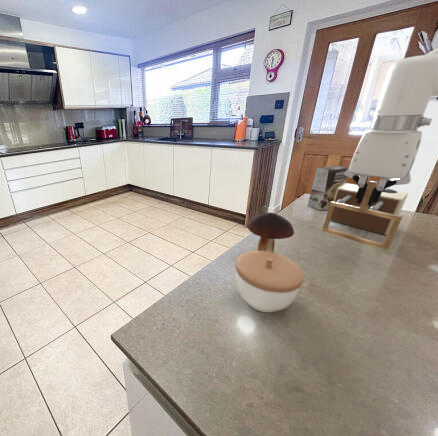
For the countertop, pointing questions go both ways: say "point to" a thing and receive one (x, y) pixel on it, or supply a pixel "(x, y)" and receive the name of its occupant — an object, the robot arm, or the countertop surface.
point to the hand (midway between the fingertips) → (365, 202)
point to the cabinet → (386, 204)
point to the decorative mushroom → (269, 230)
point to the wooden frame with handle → (364, 209)
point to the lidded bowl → (267, 280)
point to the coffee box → (326, 186)
